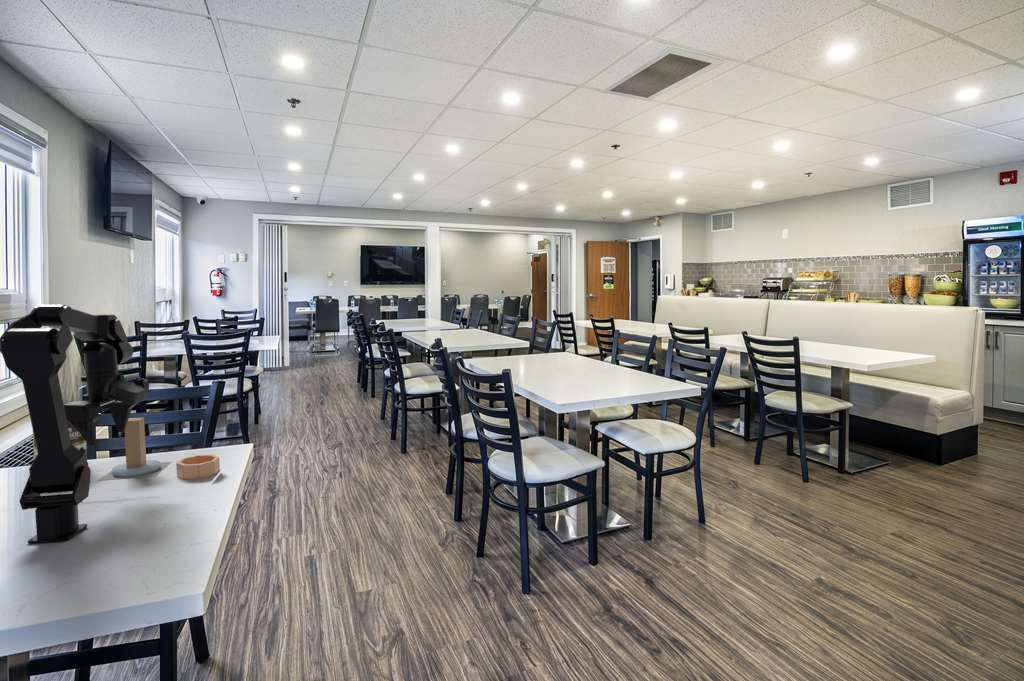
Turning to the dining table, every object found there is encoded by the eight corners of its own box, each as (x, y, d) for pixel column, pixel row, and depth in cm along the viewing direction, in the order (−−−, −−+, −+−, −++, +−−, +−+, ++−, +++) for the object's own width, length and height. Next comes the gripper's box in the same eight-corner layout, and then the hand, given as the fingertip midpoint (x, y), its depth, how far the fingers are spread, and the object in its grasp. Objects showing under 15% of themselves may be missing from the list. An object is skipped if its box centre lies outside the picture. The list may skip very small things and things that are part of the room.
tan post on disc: (151, 475, 132) (149, 422, 130) (104, 478, 129) (101, 425, 128) (166, 463, 141) (164, 413, 140) (122, 465, 139) (120, 415, 137)
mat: (155, 478, 131) (154, 476, 131) (97, 483, 128) (97, 480, 128) (172, 463, 142) (172, 461, 142) (120, 467, 139) (119, 465, 139)
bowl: (210, 480, 130) (209, 464, 130) (172, 482, 129) (171, 465, 128) (223, 469, 139) (223, 454, 138) (187, 470, 137) (187, 455, 137)
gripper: (108, 380, 110) (114, 453, 112) (164, 363, 128) (168, 426, 130) (53, 379, 109) (60, 452, 112) (117, 362, 128) (122, 426, 130)
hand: (107, 438), depth 121 cm, fingers open, 9 cm apart
